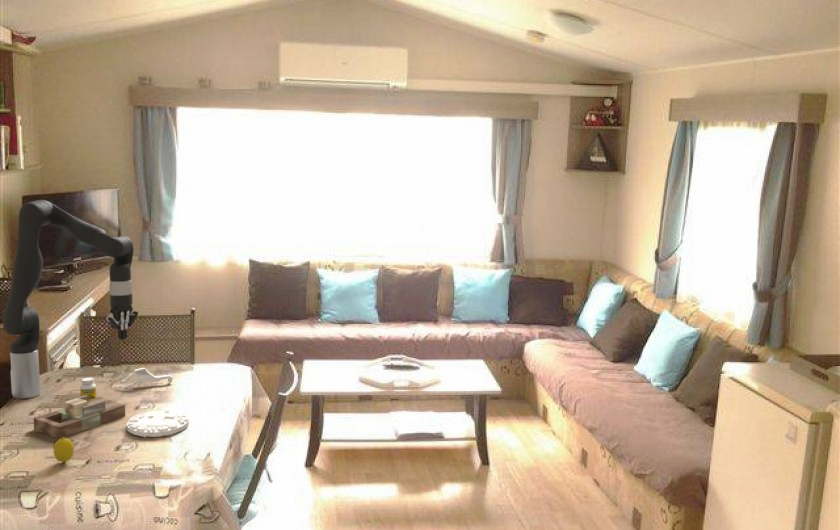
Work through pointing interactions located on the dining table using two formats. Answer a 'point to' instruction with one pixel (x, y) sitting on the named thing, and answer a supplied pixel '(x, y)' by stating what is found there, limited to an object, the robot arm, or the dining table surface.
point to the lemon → (63, 449)
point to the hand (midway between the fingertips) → (122, 339)
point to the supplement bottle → (88, 388)
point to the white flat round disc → (157, 423)
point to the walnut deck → (79, 417)
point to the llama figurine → (145, 377)
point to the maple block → (75, 407)
